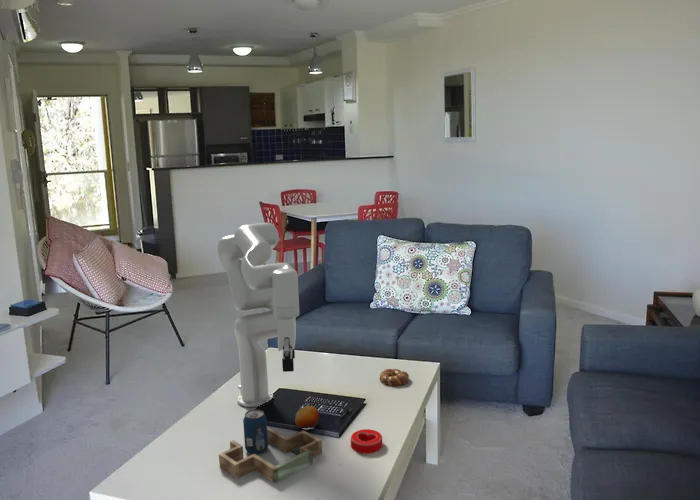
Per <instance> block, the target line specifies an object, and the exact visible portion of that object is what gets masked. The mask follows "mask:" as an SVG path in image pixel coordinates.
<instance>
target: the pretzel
mask: <svg viewBox="0 0 700 500" xmlns="http://www.w3.org/2000/svg"><path fill="white" fill-rule="evenodd" d="M409 378H410V375H409V373H407V372H406V371H402V370H400V369H398V368H386V369H384V370H382V372H381V373H380V374H379V381H380V383H382V384H383V385H384V386H392V387H400V386H404V385H406V384H408V382H409Z"/></svg>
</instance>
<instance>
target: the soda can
mask: <svg viewBox="0 0 700 500" xmlns="http://www.w3.org/2000/svg"><path fill="white" fill-rule="evenodd" d="M267 419H268V418H267V416H266V415H265V412H264V411H263V410H262V409H257V408H255V409H251V410H248V411H246V412H245V414H244V417H243V421H242V422H243V423H242V424H243V436H244V437H243V439H244V440H243V441H244V450H245V451H246V452H247V453H248V455H252V454H256V455H258V456H259V455H263V454H264V453H265V452H267V449H268V448H269V442H268V434H267V427H268V421H267Z"/></svg>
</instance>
